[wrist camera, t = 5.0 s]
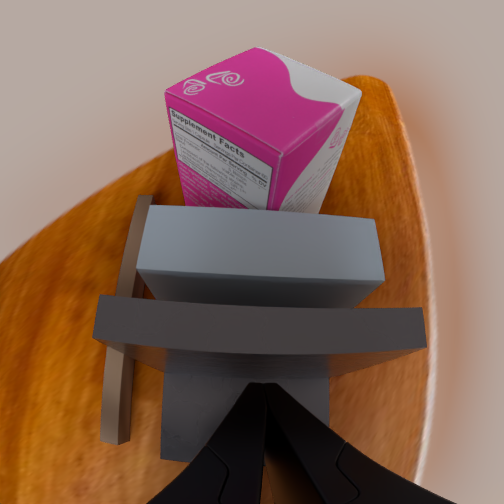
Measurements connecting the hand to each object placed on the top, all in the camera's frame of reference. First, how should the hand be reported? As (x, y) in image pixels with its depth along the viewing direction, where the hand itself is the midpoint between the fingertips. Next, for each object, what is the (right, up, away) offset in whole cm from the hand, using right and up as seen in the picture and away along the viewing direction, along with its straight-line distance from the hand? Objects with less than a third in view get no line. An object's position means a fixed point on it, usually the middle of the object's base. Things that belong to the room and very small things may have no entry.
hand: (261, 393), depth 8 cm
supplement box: (0, +5, +12) cm, 13 cm away
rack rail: (-7, 0, +9) cm, 11 cm away
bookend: (-1, -5, +7) cm, 8 cm away
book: (0, 0, +9) cm, 9 cm away
